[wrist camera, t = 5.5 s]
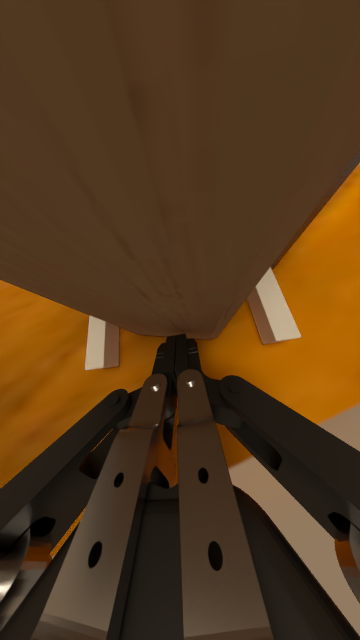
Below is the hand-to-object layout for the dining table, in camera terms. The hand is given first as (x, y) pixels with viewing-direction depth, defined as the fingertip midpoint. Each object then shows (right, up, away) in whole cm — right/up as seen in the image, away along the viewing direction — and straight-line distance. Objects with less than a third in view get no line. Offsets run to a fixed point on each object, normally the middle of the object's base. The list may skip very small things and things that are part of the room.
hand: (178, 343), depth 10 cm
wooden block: (0, +5, +6) cm, 8 cm away
